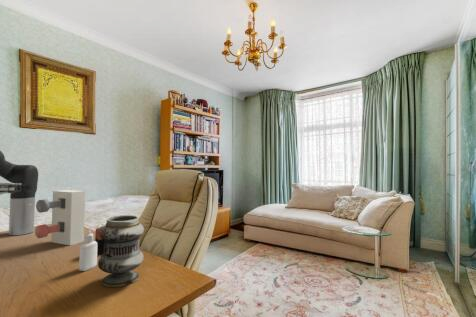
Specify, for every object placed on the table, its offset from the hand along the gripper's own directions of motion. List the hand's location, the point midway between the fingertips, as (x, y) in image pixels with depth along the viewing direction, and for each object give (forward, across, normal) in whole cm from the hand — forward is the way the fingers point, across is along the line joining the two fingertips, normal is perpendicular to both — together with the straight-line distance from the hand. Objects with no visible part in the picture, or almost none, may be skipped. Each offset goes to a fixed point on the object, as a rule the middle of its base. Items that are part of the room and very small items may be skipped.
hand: (29, 186), depth 94 cm
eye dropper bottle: (-1, -33, +25) cm, 42 cm away
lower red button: (+7, 0, +20) cm, 22 cm away
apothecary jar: (-3, -50, +26) cm, 56 cm away
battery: (+13, -26, +25) cm, 38 cm away
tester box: (+15, 0, +25) cm, 29 cm away
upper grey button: (+7, 0, +10) cm, 13 cm away
